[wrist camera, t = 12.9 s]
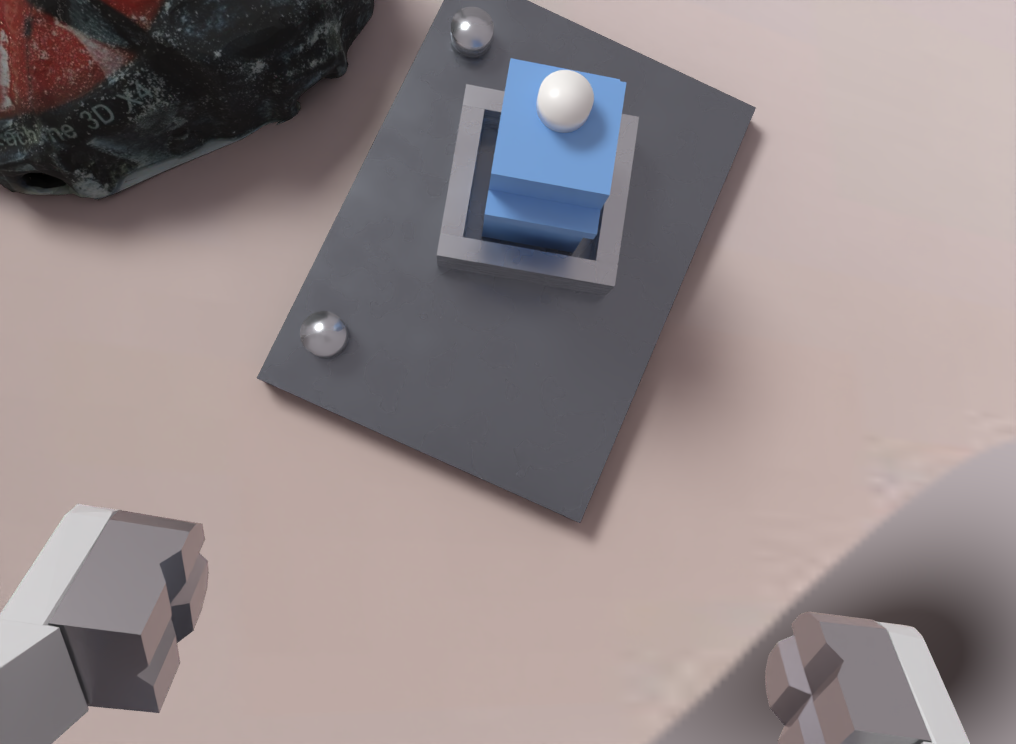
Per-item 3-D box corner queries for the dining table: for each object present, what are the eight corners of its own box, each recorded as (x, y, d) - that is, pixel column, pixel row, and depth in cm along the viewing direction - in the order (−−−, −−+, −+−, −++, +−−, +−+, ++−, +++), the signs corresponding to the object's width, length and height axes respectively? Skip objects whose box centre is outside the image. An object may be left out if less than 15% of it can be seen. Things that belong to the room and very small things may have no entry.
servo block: (478, 256, 35) (487, 191, 26) (499, 127, 35) (516, 22, 27) (570, 273, 35) (610, 214, 26) (589, 144, 36) (635, 45, 27)
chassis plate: (262, 380, 34) (244, 373, 31) (459, -19, 37) (460, -60, 34) (576, 521, 35) (588, 527, 32) (747, 116, 37) (773, 87, 34)
